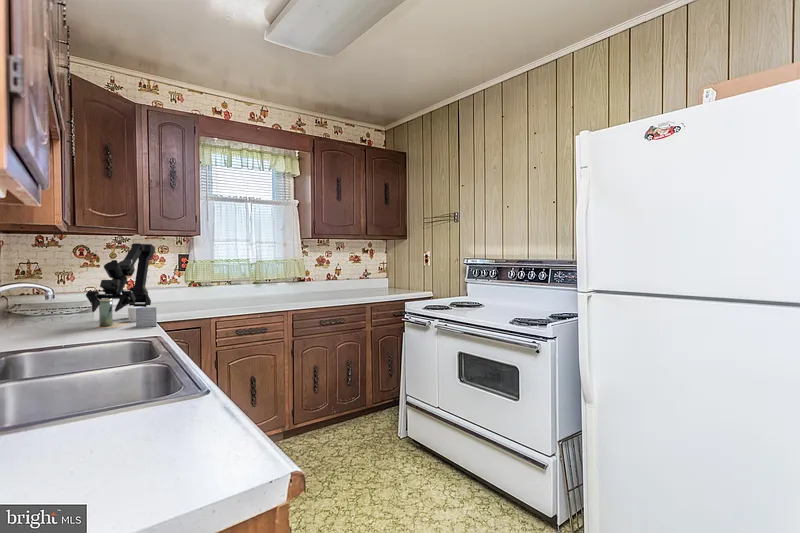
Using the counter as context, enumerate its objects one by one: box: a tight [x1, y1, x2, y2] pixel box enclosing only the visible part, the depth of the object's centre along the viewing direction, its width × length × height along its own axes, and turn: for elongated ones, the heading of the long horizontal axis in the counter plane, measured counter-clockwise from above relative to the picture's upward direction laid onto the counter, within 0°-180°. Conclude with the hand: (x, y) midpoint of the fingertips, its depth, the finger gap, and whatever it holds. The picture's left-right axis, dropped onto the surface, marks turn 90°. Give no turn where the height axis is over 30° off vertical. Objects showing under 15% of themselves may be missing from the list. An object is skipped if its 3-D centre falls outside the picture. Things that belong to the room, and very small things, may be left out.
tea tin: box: [98, 299, 114, 327], centre depth 190 cm, size 5×5×12 cm
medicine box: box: [135, 306, 158, 328], centre depth 191 cm, size 8×4×9 cm, turn 118°
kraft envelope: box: [95, 322, 131, 329], centre depth 192 cm, size 14×9×1 cm, turn 8°
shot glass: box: [127, 306, 142, 322], centre depth 207 cm, size 7×7×7 cm
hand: (104, 311), depth 188 cm, fingers open, 9 cm apart
